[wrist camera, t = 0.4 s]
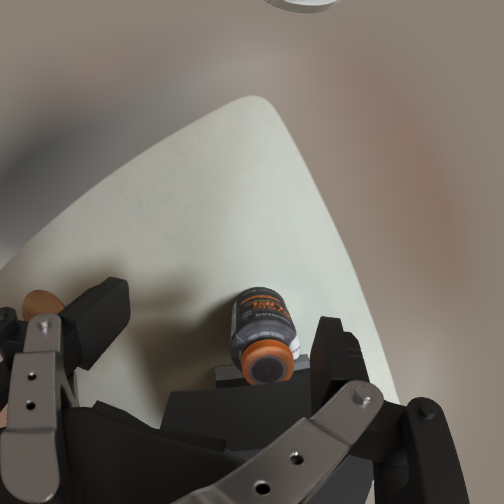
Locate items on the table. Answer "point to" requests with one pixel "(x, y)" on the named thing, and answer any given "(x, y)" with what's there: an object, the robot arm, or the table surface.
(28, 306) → the cork coaster
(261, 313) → the pill bottle
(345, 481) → the coffee maker
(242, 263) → the table surface
